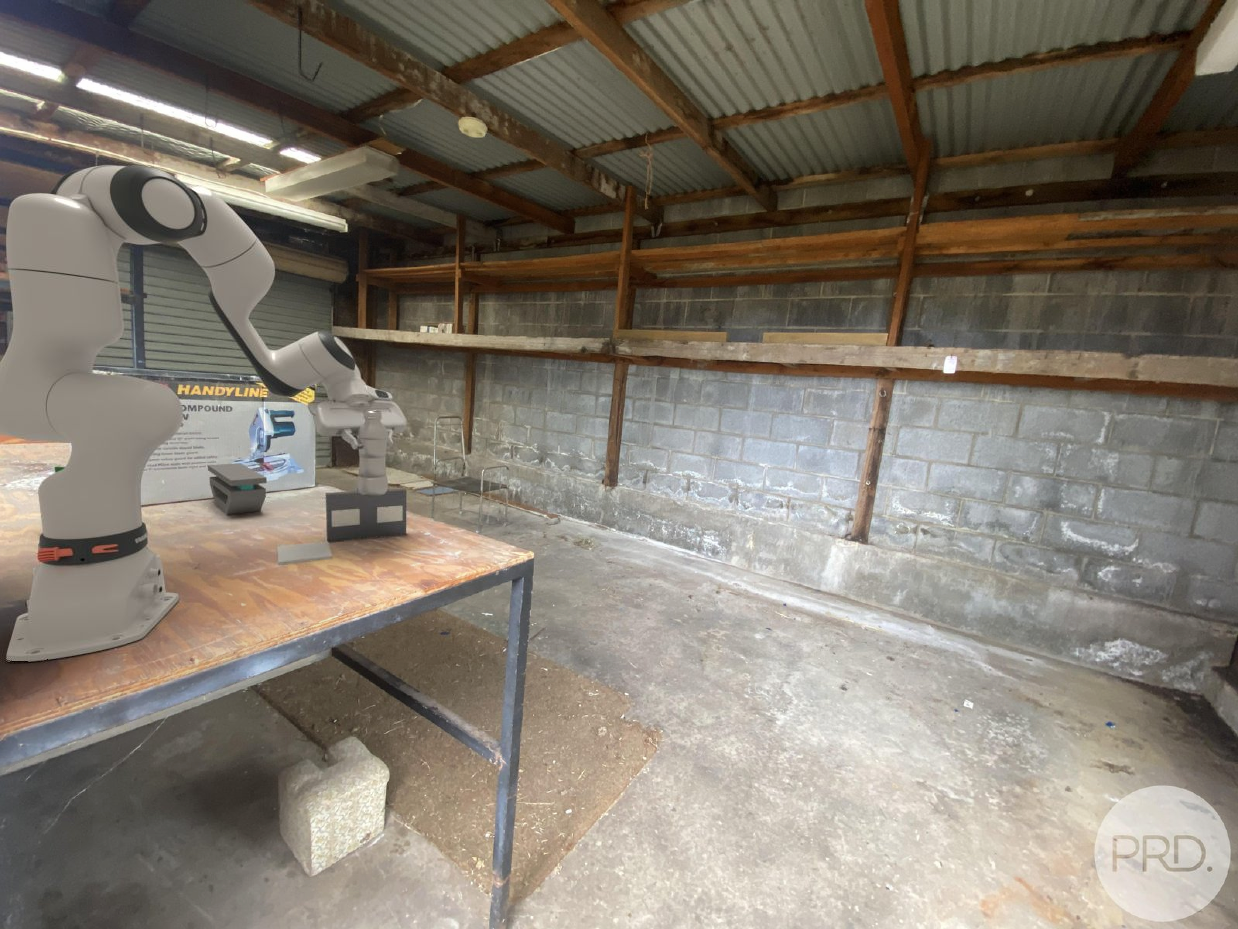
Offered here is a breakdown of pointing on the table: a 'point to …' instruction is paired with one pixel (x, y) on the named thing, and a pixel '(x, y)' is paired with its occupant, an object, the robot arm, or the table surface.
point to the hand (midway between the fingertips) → (374, 446)
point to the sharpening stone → (237, 488)
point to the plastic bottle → (372, 455)
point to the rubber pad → (303, 552)
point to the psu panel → (365, 515)
